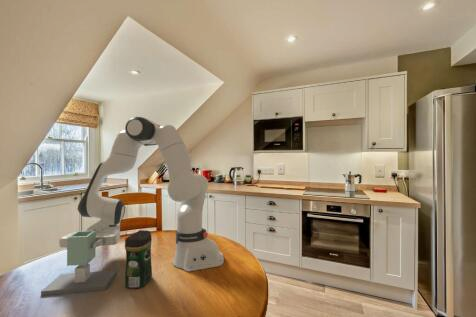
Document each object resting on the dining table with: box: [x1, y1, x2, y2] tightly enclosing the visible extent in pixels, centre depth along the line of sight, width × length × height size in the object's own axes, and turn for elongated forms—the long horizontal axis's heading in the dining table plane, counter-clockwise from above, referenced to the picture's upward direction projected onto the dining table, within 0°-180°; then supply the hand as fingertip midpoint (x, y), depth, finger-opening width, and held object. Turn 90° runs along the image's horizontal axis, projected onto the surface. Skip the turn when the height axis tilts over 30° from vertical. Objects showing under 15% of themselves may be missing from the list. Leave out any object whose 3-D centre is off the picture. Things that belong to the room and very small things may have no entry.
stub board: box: [40, 263, 118, 296], centre depth 82 cm, size 20×11×6 cm, turn 100°
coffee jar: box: [124, 229, 153, 290], centre depth 83 cm, size 10×8×19 cm
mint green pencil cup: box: [66, 230, 97, 267], centre depth 81 cm, size 6×6×10 cm
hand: (80, 247), depth 81 cm, fingers closed on mint green pencil cup, 6 cm apart
